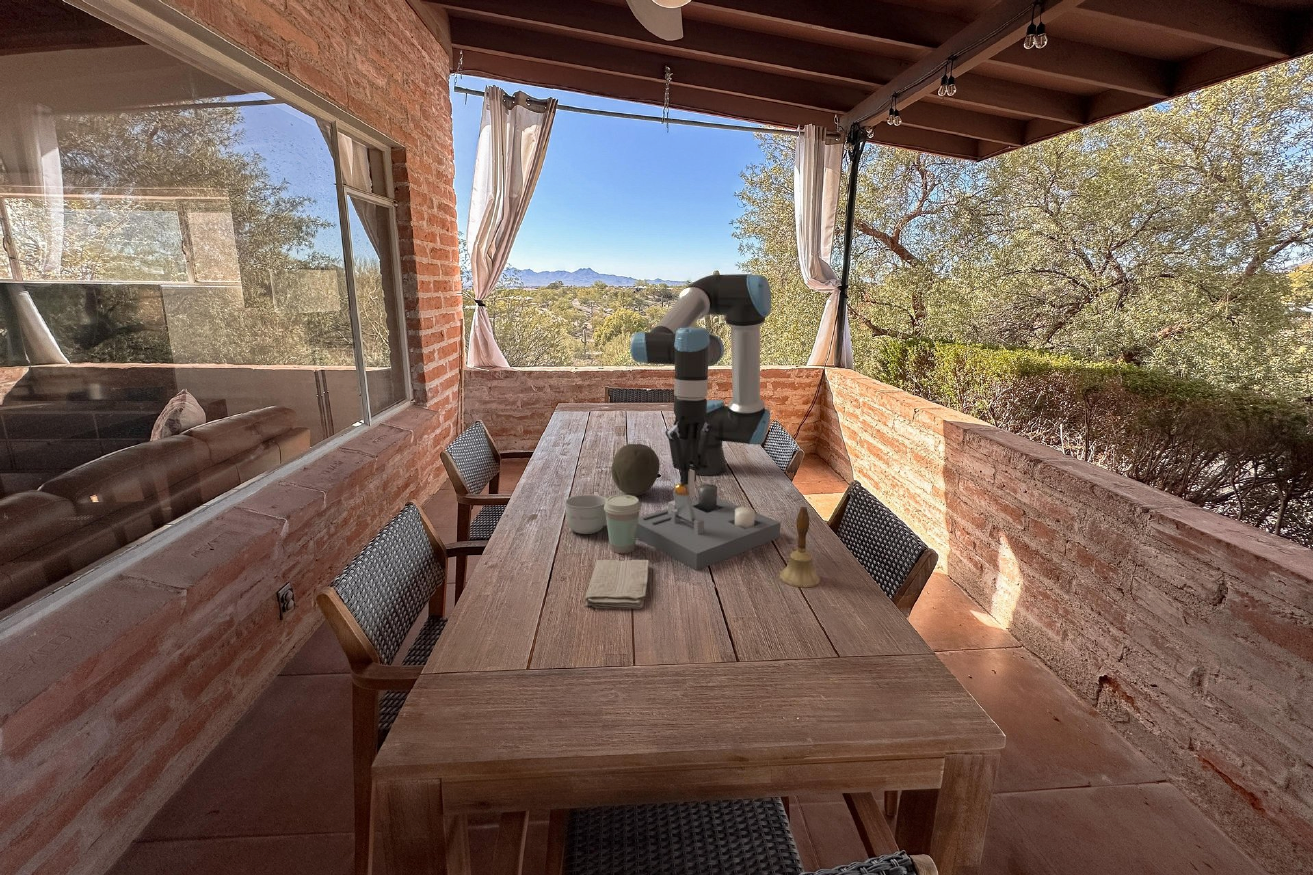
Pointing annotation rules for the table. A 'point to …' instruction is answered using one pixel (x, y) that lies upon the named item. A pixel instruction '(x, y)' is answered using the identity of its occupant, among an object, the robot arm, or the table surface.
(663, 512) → the panel
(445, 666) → the table surface
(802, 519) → the hand bell
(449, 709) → the table surface
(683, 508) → the lever
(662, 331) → the robot arm
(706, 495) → the dark gray button
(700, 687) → the table surface
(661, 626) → the table surface
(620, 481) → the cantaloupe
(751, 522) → the cream button
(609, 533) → the coffee cup
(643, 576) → the washcloth
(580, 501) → the teacup
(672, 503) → the slider knob
